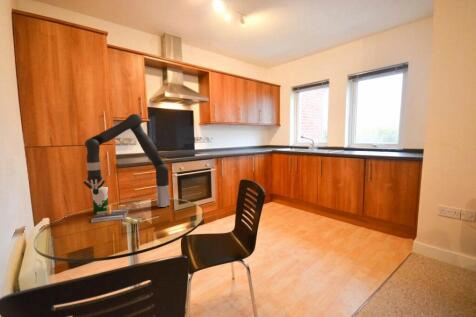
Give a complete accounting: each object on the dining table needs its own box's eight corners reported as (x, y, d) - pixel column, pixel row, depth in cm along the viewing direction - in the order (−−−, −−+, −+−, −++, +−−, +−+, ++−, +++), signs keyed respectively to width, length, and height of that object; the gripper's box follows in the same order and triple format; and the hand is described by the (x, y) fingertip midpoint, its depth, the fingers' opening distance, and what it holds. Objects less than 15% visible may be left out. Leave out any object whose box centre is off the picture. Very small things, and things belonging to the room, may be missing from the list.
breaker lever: (113, 213, 149) (112, 204, 149) (112, 215, 147) (111, 205, 146) (106, 214, 148) (105, 205, 147) (105, 215, 145) (104, 206, 144)
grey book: (127, 210, 156) (127, 208, 156) (123, 217, 144) (123, 214, 144) (97, 213, 151) (97, 211, 151) (91, 220, 139) (91, 218, 138)
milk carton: (99, 209, 162) (97, 184, 159) (111, 209, 161) (109, 184, 159) (91, 214, 153) (88, 187, 150) (103, 214, 153) (101, 187, 150)
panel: (128, 212, 157) (128, 210, 157) (125, 219, 145) (125, 216, 144) (97, 215, 151) (97, 213, 151) (91, 222, 139) (90, 220, 138)
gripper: (107, 167, 147) (108, 192, 149) (84, 168, 143) (86, 193, 145) (103, 169, 140) (105, 195, 142) (79, 170, 136) (82, 196, 138)
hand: (95, 194), depth 143 cm, fingers closed
